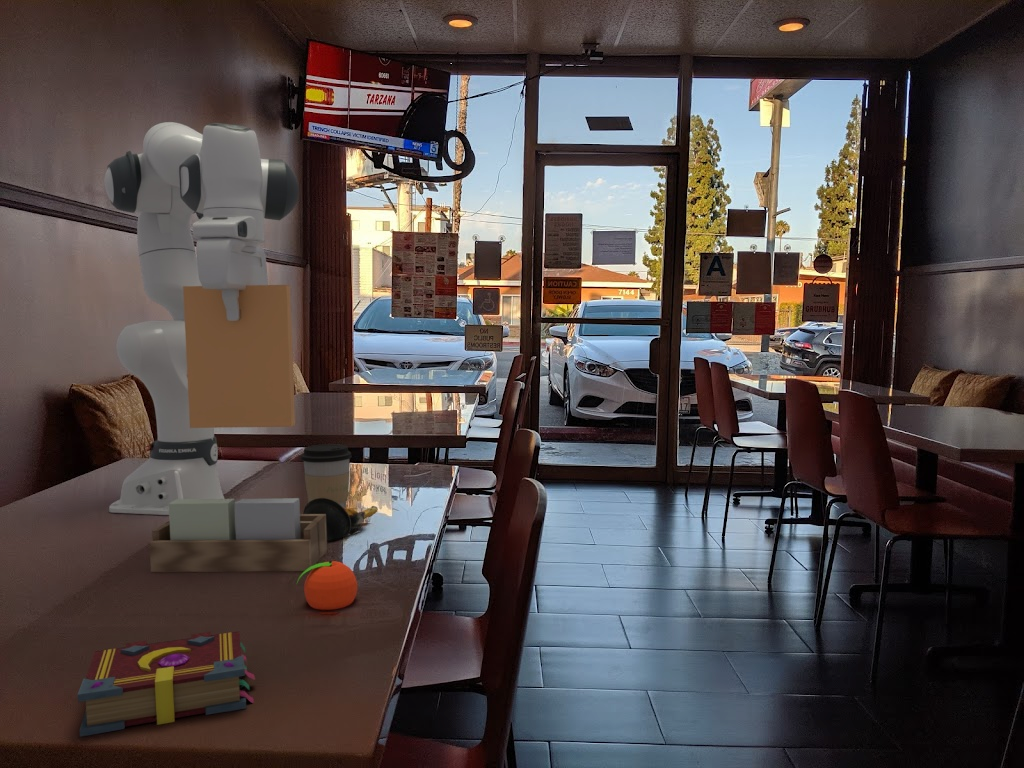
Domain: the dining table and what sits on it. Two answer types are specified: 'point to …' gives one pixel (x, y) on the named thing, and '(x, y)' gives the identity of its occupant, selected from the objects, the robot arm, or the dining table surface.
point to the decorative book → (164, 682)
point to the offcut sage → (202, 519)
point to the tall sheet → (240, 358)
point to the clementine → (330, 586)
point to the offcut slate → (267, 519)
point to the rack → (240, 551)
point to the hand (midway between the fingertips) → (238, 320)
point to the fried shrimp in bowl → (338, 517)
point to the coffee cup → (327, 472)
